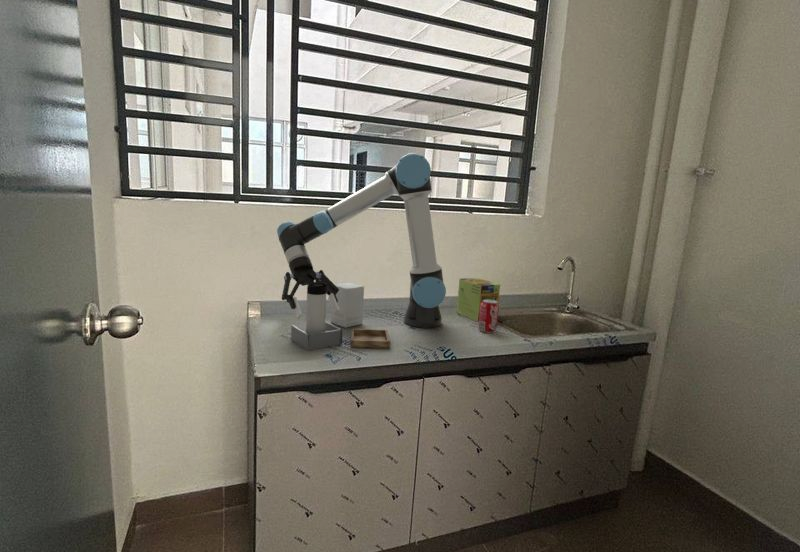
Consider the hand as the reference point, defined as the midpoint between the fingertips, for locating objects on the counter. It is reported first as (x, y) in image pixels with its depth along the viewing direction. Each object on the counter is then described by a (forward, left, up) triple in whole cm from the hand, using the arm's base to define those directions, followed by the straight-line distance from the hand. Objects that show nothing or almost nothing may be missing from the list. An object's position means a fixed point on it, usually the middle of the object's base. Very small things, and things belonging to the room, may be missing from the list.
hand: (318, 314), depth 144 cm
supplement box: (-9, -24, -10) cm, 27 cm away
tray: (-17, -3, -10) cm, 20 cm away
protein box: (-65, -40, -10) cm, 77 cm away
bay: (+1, -2, -10) cm, 10 cm away
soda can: (-63, -19, -10) cm, 67 cm away
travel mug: (+1, -2, -10) cm, 10 cm away
